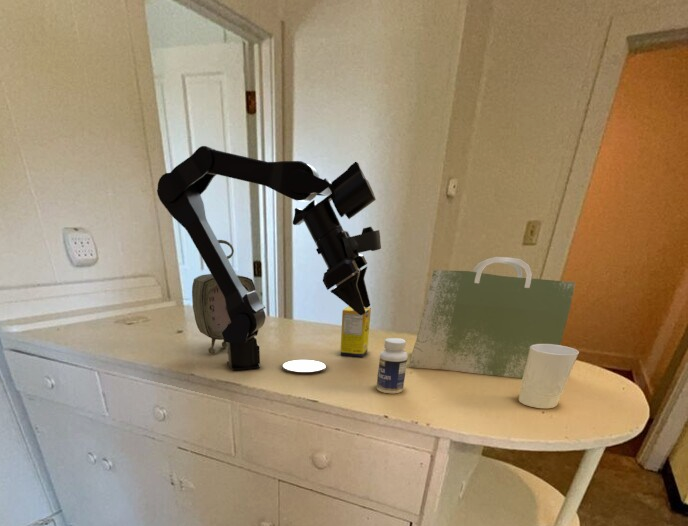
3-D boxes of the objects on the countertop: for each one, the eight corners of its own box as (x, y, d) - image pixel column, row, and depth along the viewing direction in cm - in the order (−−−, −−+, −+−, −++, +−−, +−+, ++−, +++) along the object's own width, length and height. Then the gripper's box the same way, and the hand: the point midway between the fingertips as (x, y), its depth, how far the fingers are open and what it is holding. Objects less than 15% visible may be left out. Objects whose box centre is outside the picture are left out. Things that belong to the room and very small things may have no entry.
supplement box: (367, 352, 112) (371, 307, 106) (362, 357, 107) (366, 311, 101) (345, 350, 114) (348, 305, 108) (339, 355, 109) (342, 309, 103)
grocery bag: (544, 364, 104) (578, 256, 91) (555, 381, 93) (596, 260, 80) (411, 353, 111) (426, 251, 99) (407, 367, 100) (423, 255, 88)
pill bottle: (371, 389, 87) (375, 340, 81) (385, 383, 90) (391, 335, 85) (393, 396, 84) (400, 344, 78) (407, 389, 87) (415, 340, 82)
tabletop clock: (207, 356, 107) (194, 240, 93) (195, 348, 113) (182, 239, 100) (259, 349, 113) (254, 240, 99) (245, 342, 119) (239, 239, 106)
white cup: (507, 395, 84) (521, 343, 79) (545, 395, 85) (561, 343, 80) (528, 410, 78) (545, 354, 72) (568, 409, 78) (589, 354, 73)
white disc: (291, 376, 94) (291, 373, 93) (277, 364, 101) (277, 361, 101) (332, 372, 97) (332, 369, 96) (315, 360, 105) (315, 358, 104)
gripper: (359, 205, 70) (400, 294, 76) (370, 209, 86) (404, 283, 91) (303, 246, 75) (346, 327, 81) (324, 242, 91) (358, 311, 96)
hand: (365, 310), depth 87 cm, fingers open, 9 cm apart
